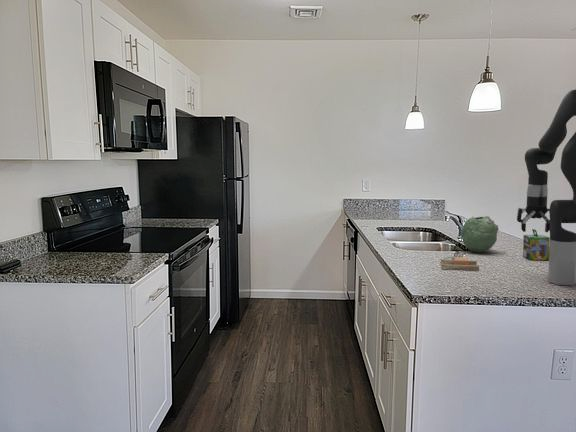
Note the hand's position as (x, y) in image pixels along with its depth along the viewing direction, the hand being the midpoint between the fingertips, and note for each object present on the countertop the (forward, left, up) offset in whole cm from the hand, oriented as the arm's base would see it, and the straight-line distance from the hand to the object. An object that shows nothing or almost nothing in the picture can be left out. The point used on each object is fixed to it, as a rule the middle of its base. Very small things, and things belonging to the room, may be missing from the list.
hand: (535, 231), depth 180 cm
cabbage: (+40, +18, -18) cm, 48 cm away
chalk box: (+29, -7, -18) cm, 35 cm away
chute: (+4, +30, -18) cm, 36 cm away
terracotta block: (+4, +29, -18) cm, 35 cm away
